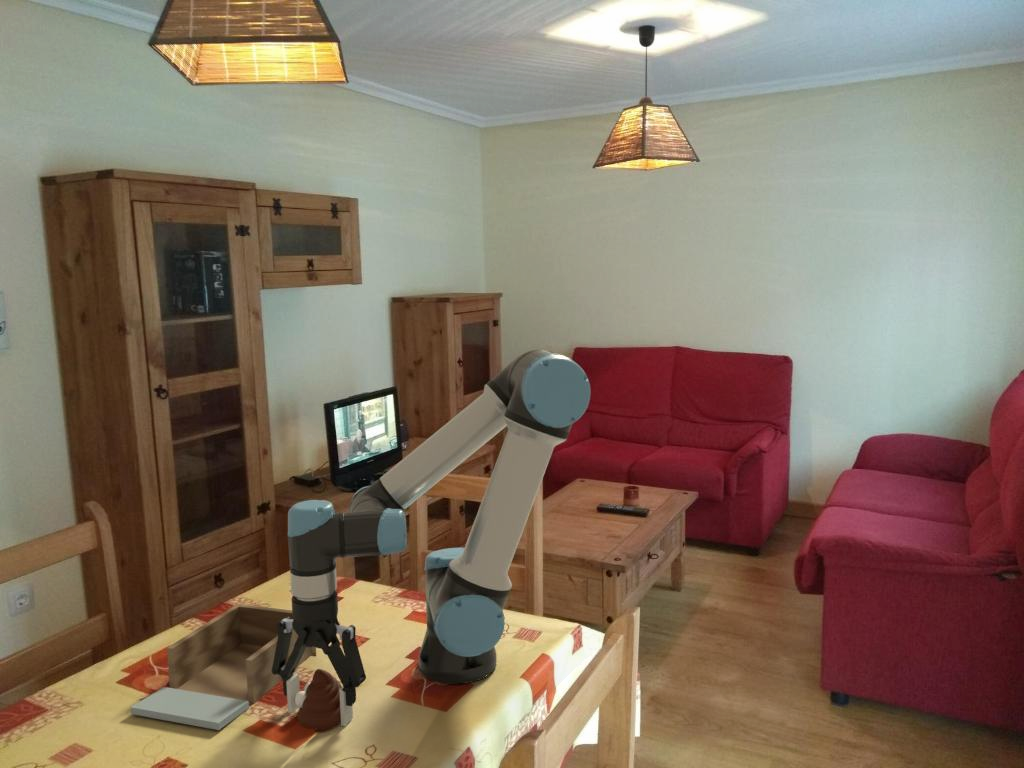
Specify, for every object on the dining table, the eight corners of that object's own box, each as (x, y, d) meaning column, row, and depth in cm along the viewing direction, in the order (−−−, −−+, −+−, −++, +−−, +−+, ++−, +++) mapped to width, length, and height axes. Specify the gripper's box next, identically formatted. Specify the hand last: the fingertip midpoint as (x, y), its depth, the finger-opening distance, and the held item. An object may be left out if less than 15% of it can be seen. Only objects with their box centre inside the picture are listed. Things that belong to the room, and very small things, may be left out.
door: (163, 686, 142) (130, 707, 135) (248, 701, 137) (218, 723, 129) (164, 693, 142) (130, 713, 135) (248, 707, 137) (219, 730, 129)
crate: (240, 644, 163) (237, 603, 162) (316, 655, 158) (314, 613, 157) (170, 694, 144) (166, 647, 143) (254, 708, 139) (251, 660, 138)
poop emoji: (333, 737, 130) (330, 684, 128) (286, 731, 132) (283, 678, 130) (358, 705, 139) (356, 656, 138) (315, 700, 141) (312, 651, 140)
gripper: (384, 591, 133) (388, 715, 135) (270, 578, 139) (277, 696, 142) (362, 608, 126) (368, 739, 128) (244, 594, 132) (252, 718, 135)
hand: (320, 717), depth 135 cm, fingers open, 9 cm apart
